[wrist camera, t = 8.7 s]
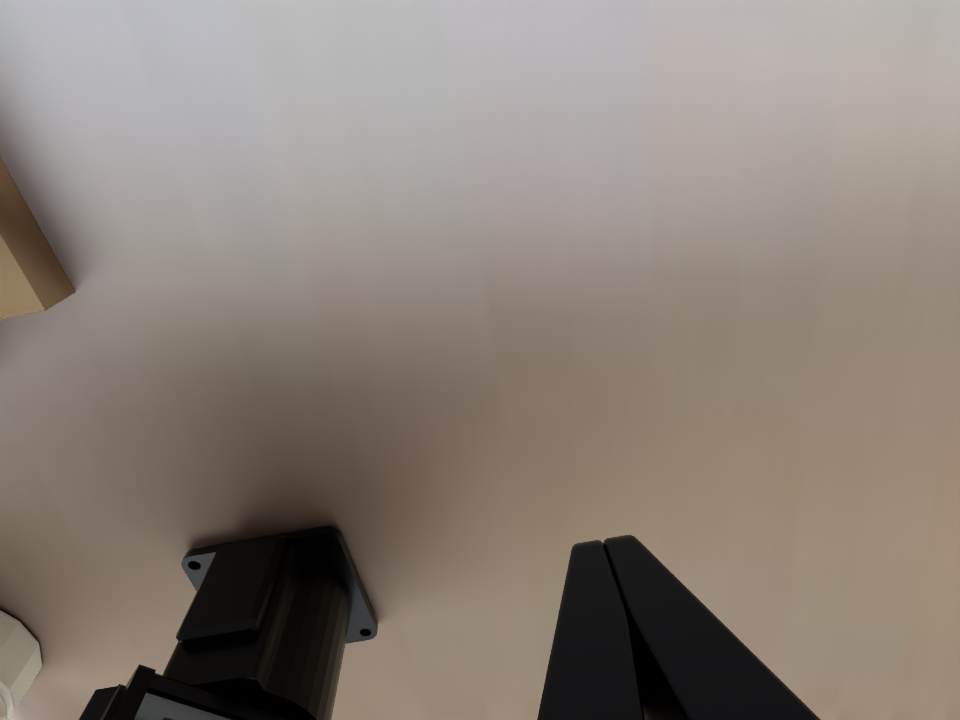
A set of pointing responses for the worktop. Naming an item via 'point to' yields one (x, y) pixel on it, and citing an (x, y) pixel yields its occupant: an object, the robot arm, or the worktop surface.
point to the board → (25, 258)
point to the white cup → (16, 663)
